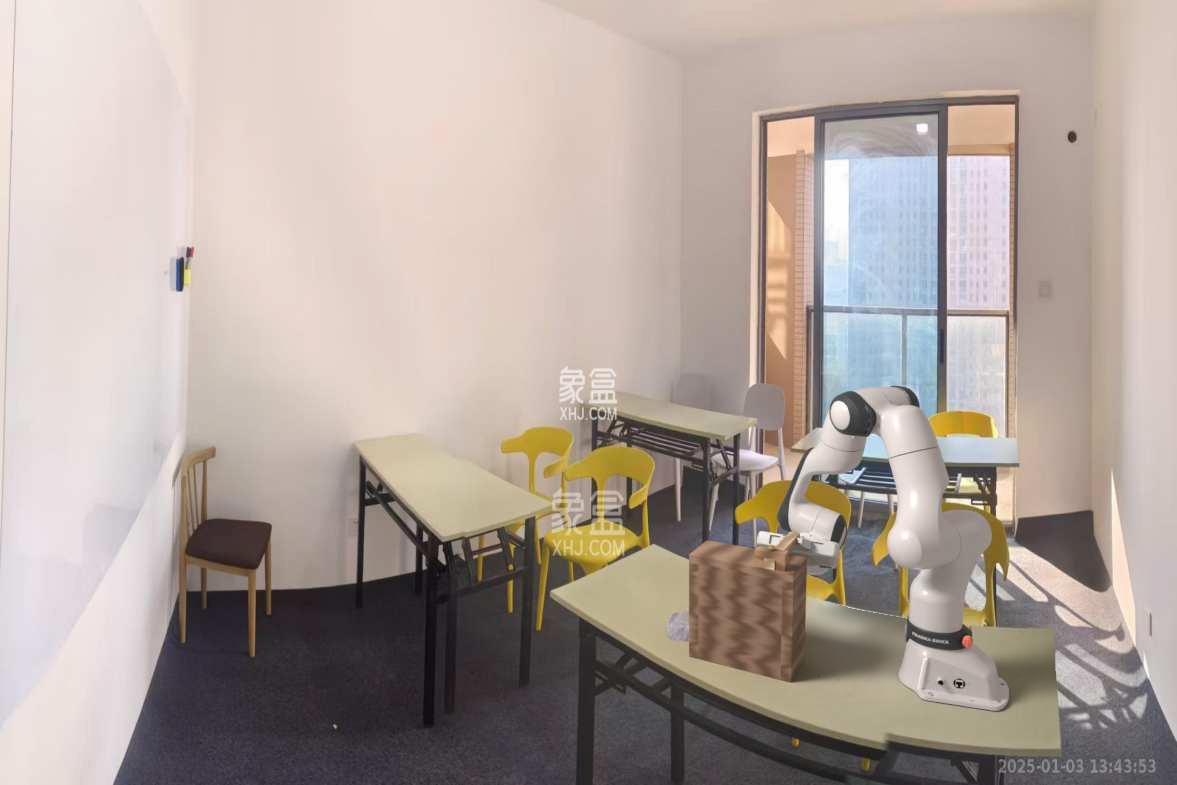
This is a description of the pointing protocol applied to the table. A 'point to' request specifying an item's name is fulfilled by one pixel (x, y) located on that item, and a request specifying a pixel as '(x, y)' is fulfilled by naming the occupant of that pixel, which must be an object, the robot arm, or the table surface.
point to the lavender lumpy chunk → (679, 626)
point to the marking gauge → (776, 554)
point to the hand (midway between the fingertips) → (791, 539)
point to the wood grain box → (746, 611)
